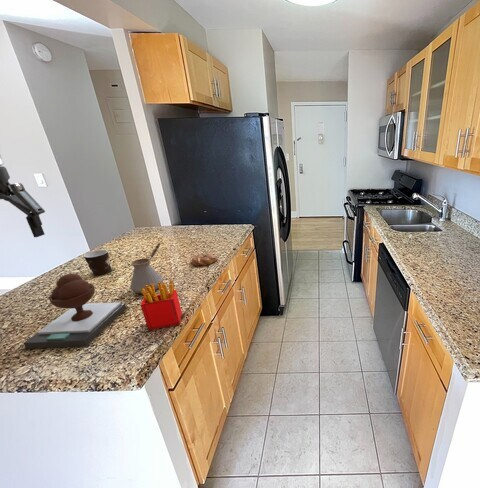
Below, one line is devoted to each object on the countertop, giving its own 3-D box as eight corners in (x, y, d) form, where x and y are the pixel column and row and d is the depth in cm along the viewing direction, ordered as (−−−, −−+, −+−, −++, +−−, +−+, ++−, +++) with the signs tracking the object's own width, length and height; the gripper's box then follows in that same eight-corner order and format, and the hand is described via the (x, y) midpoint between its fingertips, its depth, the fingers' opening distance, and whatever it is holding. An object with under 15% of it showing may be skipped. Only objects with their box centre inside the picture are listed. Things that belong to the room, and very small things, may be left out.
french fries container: (153, 318, 90) (142, 284, 85) (182, 313, 94) (174, 279, 88) (148, 331, 84) (136, 295, 79) (179, 325, 87) (170, 289, 82)
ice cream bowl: (51, 322, 84) (32, 282, 78) (90, 303, 93) (75, 266, 88) (72, 330, 80) (53, 288, 75) (110, 309, 90) (96, 271, 84)
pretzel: (220, 257, 138) (219, 251, 136) (212, 266, 128) (211, 260, 126) (197, 257, 137) (196, 251, 136) (188, 267, 127) (186, 260, 126)
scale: (26, 349, 77) (21, 340, 76) (78, 310, 95) (75, 303, 94) (86, 346, 78) (82, 338, 77) (126, 308, 96) (124, 301, 95)
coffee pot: (155, 296, 103) (145, 262, 98) (125, 297, 103) (114, 263, 97) (180, 271, 123) (173, 242, 118) (155, 271, 123) (147, 242, 117)
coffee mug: (103, 268, 126) (96, 249, 123) (119, 269, 125) (112, 250, 121) (79, 279, 116) (71, 259, 112) (96, 281, 114) (88, 260, 111)
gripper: (43, 165, 78) (68, 231, 86) (-46, 164, 77) (-13, 232, 85) (18, 168, 71) (47, 240, 79) (-81, 167, 70) (-41, 240, 78)
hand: (16, 236), depth 82 cm, fingers open, 13 cm apart
